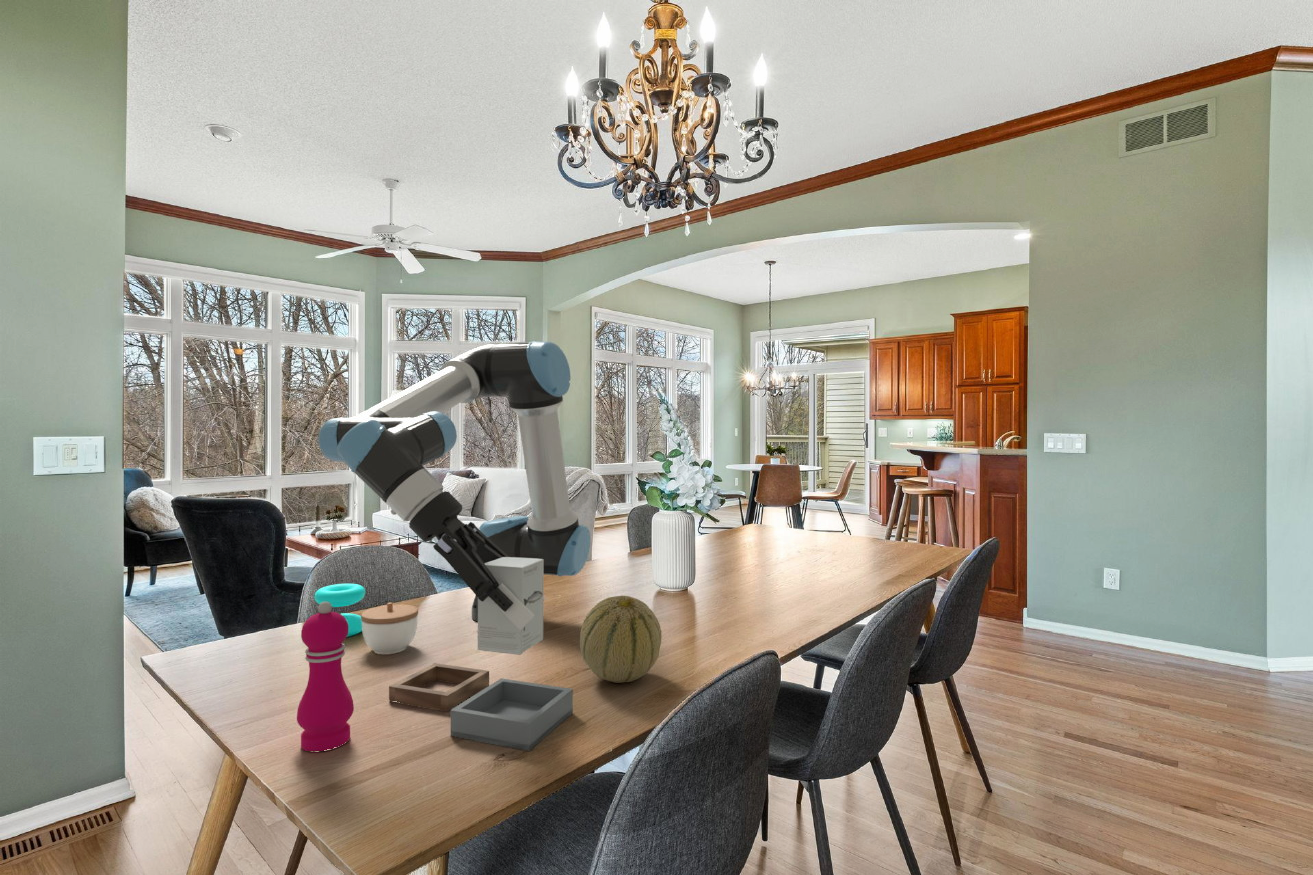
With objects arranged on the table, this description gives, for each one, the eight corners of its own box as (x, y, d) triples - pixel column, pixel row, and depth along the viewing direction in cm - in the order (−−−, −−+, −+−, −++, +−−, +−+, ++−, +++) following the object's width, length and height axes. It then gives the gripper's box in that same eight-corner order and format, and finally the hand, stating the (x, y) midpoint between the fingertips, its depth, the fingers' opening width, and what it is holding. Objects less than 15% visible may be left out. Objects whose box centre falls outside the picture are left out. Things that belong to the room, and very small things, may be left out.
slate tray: (501, 701, 108) (501, 678, 108) (572, 712, 103) (572, 688, 103) (450, 736, 96) (450, 710, 96) (529, 750, 91) (529, 723, 91)
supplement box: (521, 655, 94) (521, 567, 94) (476, 650, 96) (476, 564, 96) (545, 640, 101) (545, 558, 101) (502, 636, 104) (502, 555, 103)
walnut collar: (434, 676, 119) (434, 662, 119) (489, 685, 115) (489, 670, 115) (389, 701, 108) (388, 686, 108) (447, 711, 104) (447, 695, 104)
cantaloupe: (609, 659, 128) (609, 581, 127) (676, 673, 120) (676, 591, 120) (561, 685, 115) (561, 598, 115) (633, 702, 107) (632, 610, 107)
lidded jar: (428, 648, 134) (427, 602, 134) (375, 662, 126) (375, 613, 126) (403, 637, 141) (403, 593, 141) (352, 649, 133) (351, 603, 133)
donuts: (317, 584, 147) (366, 580, 151) (318, 628, 148) (366, 624, 151) (311, 594, 138) (363, 590, 141) (311, 642, 138) (363, 637, 142)
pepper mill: (310, 731, 97) (309, 595, 97) (361, 729, 98) (360, 594, 98) (287, 755, 90) (286, 609, 90) (342, 753, 91) (341, 607, 90)
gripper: (433, 515, 110) (529, 611, 110) (378, 535, 88) (498, 655, 88) (465, 483, 110) (561, 579, 110) (418, 495, 88) (538, 615, 88)
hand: (533, 613), depth 99 cm, fingers closed on supplement box, 9 cm apart
